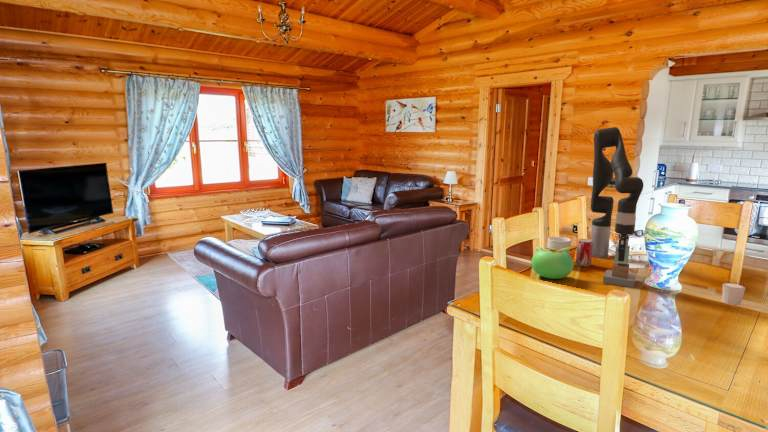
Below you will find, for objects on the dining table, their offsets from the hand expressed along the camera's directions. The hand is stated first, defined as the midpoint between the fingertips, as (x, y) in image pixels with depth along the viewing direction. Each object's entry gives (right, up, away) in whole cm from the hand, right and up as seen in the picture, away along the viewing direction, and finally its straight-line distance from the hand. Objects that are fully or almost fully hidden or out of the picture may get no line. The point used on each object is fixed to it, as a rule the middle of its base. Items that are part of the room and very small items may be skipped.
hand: (621, 259), depth 187 cm
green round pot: (-29, -9, +8) cm, 31 cm away
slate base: (0, -10, +2) cm, 10 cm away
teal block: (0, -1, 0) cm, 1 cm away
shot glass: (+30, -15, -23) cm, 41 cm away
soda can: (-4, -6, +27) cm, 28 cm away
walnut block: (0, -7, +1) cm, 7 cm away
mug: (-16, -5, +31) cm, 36 cm away
